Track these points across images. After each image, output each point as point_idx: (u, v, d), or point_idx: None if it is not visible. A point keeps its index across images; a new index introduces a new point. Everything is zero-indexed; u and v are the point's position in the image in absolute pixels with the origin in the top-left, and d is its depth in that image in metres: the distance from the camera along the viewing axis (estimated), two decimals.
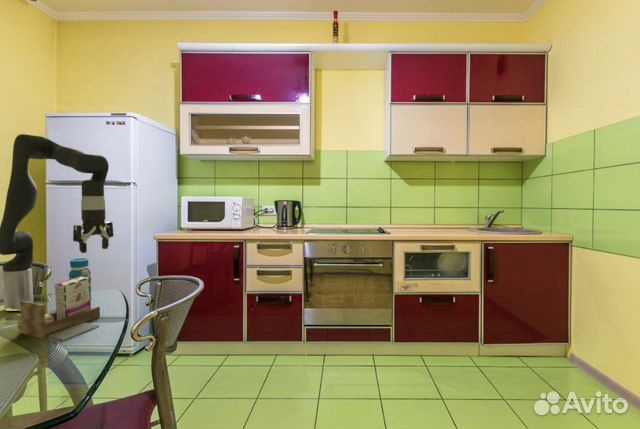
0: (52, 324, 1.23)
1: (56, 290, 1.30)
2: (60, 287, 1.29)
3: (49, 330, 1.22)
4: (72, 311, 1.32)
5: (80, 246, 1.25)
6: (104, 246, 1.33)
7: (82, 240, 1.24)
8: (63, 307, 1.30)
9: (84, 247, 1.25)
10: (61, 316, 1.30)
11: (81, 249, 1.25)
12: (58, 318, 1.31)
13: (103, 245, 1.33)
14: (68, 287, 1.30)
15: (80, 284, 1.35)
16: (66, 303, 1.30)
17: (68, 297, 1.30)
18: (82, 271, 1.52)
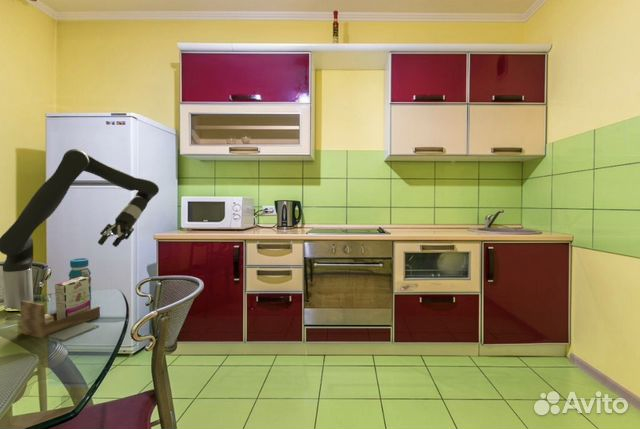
0: (52, 324, 1.23)
1: (56, 290, 1.30)
2: (60, 287, 1.29)
3: (49, 330, 1.22)
4: (72, 311, 1.32)
5: (119, 241, 1.47)
6: (101, 242, 1.50)
7: None
8: (63, 307, 1.30)
9: None
10: (61, 316, 1.30)
11: (118, 243, 1.47)
12: (58, 318, 1.31)
13: (102, 241, 1.50)
14: (68, 287, 1.31)
15: (80, 284, 1.35)
16: (66, 303, 1.30)
17: (68, 297, 1.30)
18: (82, 271, 1.52)
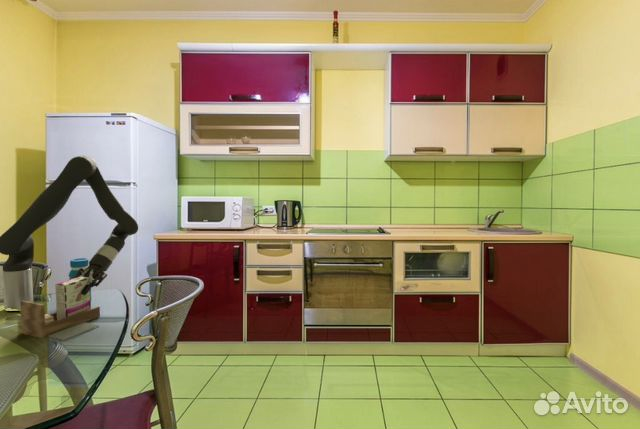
0: (52, 324, 1.23)
1: (57, 290, 1.30)
2: (60, 287, 1.29)
3: (49, 330, 1.22)
4: (72, 311, 1.32)
5: (88, 288, 1.37)
6: None
7: (93, 285, 1.39)
8: (63, 307, 1.30)
9: None
10: (61, 316, 1.30)
11: (87, 291, 1.36)
12: (58, 318, 1.31)
13: None
14: (69, 287, 1.30)
15: (80, 284, 1.35)
16: (67, 303, 1.30)
17: (68, 297, 1.30)
18: None
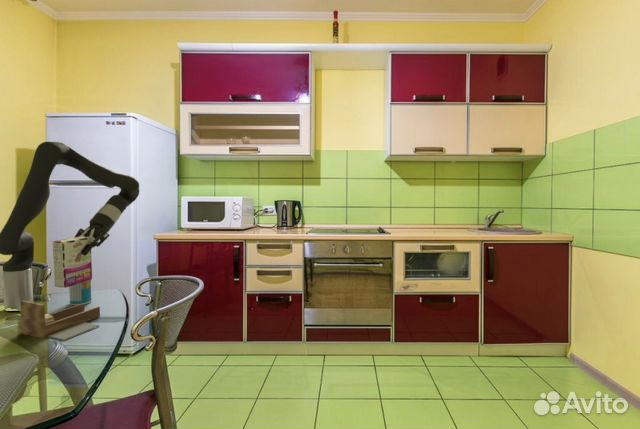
0: (52, 324, 1.23)
1: (54, 248, 1.19)
2: (58, 244, 1.18)
3: (49, 330, 1.22)
4: (71, 271, 1.21)
5: (88, 248, 1.26)
6: None
7: (94, 245, 1.28)
8: (61, 266, 1.19)
9: (88, 251, 1.26)
10: (59, 277, 1.19)
11: (87, 251, 1.25)
12: (56, 278, 1.20)
13: None
14: (67, 245, 1.19)
15: (80, 243, 1.24)
16: (65, 263, 1.19)
17: (66, 256, 1.19)
18: None
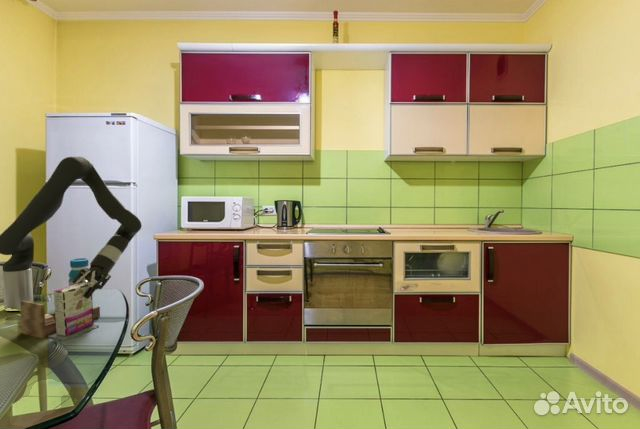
0: (52, 324, 1.23)
1: (55, 297, 1.21)
2: (59, 294, 1.20)
3: (49, 330, 1.22)
4: (72, 320, 1.23)
5: (91, 291, 1.27)
6: None
7: None
8: (62, 315, 1.20)
9: None
10: (60, 326, 1.21)
11: (90, 294, 1.26)
12: (57, 327, 1.22)
13: None
14: (68, 294, 1.21)
15: (81, 290, 1.26)
16: (66, 312, 1.20)
17: (67, 305, 1.21)
18: None
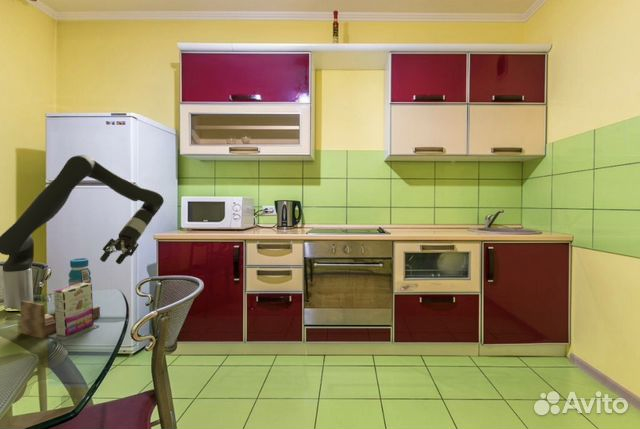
0: (52, 324, 1.23)
1: (55, 297, 1.21)
2: (59, 294, 1.20)
3: (49, 330, 1.22)
4: (72, 320, 1.23)
5: (123, 257, 1.38)
6: (104, 259, 1.40)
7: None
8: (62, 315, 1.20)
9: (122, 260, 1.39)
10: (60, 326, 1.21)
11: (121, 260, 1.38)
12: (57, 327, 1.21)
13: (104, 257, 1.40)
14: (68, 294, 1.21)
15: (81, 290, 1.26)
16: (66, 312, 1.20)
17: (67, 305, 1.21)
18: (82, 271, 1.52)
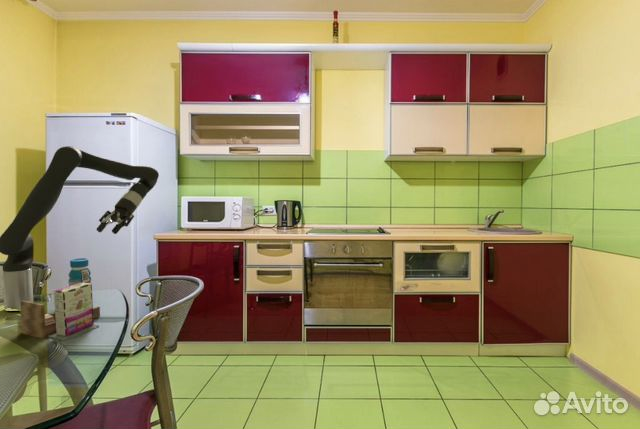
0: (52, 324, 1.23)
1: (55, 297, 1.21)
2: (59, 294, 1.20)
3: (49, 330, 1.22)
4: (72, 320, 1.23)
5: (118, 228, 1.41)
6: (100, 229, 1.43)
7: None
8: (62, 315, 1.20)
9: (118, 230, 1.42)
10: (60, 326, 1.21)
11: (117, 230, 1.41)
12: (57, 327, 1.21)
13: (100, 228, 1.44)
14: (68, 294, 1.21)
15: (81, 290, 1.26)
16: (66, 312, 1.20)
17: (67, 305, 1.21)
18: (82, 271, 1.52)
